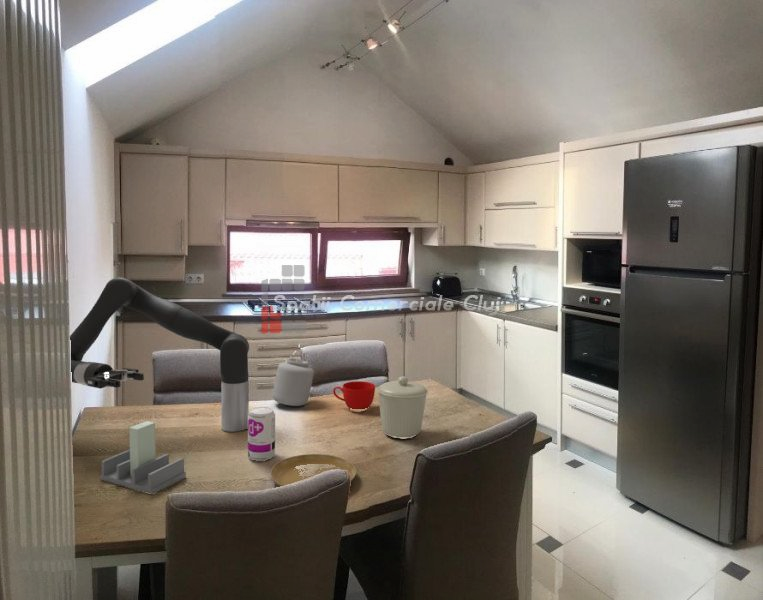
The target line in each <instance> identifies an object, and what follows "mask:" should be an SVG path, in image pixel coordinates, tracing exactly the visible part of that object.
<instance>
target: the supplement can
mask: <svg viewBox="0 0 763 600" xmlns="http://www.w3.org/2000/svg"><path fill="white" fill-rule="evenodd" d="M275 455H276V413H275V412H274V409H273V408H271V407H267V406H260V407H259V406H258V407H253V408H252V409H249V415H248V430H247V457H248V458H249V459H250V460H251V459H252V460H251V461H253V460H256V461H255V462H257V461H263V462H265V461H264V460H268V459H270V460H271V458H272V457H273V458H274V457H275ZM273 458H272V459H273ZM268 461H269V460H268Z"/></svg>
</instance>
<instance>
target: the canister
mask: <svg viewBox="0 0 763 600" xmlns="http://www.w3.org/2000/svg"><path fill="white" fill-rule="evenodd" d="M376 391H377V392H378V400H379V411H380V412H379V413H380V414H379V415H380V423H381V429H382V431H384V432H385V433H386V434H388V435H391V436H396V437H411V436H414V435H417V434H418V433H419V432H421V430H422V424H423V421H424V420H423V419H424V414H425V407H426V402H427V401H426V399H427V395H428V394H429V389H428V387H426V386H424V385H423V384H421V383H418V382H416V381H415V382H414V381H411V380H410V381H409V378H408V377H407V376H403V375H402V376H399V377H398V379H397V380H390V381H387V382H384V383H382V384H380V385H379V386H377V388H376ZM384 432H383V433H384ZM385 433H384V434H385ZM386 434H385V435H386ZM419 434H420V433H419ZM419 434H418V435H419ZM418 435H417V436H418Z"/></svg>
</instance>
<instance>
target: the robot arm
mask: <svg viewBox="0 0 763 600" xmlns="http://www.w3.org/2000/svg"><path fill="white" fill-rule="evenodd" d="M122 306H123V307H126V308H129V309H131V310H133V311H136V312H138V313H140V314H142V315H144V316H146V317H147V318H149V319H151V320H152V321H153V322H155V323H156V324H158V325H159V326H161V327H162V328H164V330H166V331H170V332H171V333H174V334H175V335H178V336H180V337H181V338H185V339H189V340H192V341H196V342H199V343H200V342H201V343H203V344H204V343H205V344H206V345H209V346H211V347H213V348H214V349H216V350H219V362H220V364H219V368H220V372H219V373H220V379H221V380H220V381H221V384H220V385H221V394H220V395H221V423H220V424H221V429H222V430H223V431H224V432H230V433H231V432H232V433H233V432H234V433H235V432H236V433H237V432H241V430H242V431H244V429H248V415H249V413H250V402H249V400H250V399H249V369H248V368H249V363H248V361H249V359H248V355H249V354H248V353H249V351H250V344H249V341H248V339H247V338H246V337H245V336H243V335H241V334H239V333H236V332H233V331H230V330H229V329H226V328H223V327H220V326H219V325H216V324H214V323H212V322H211V321H209V320H208V319H206V318H204V317H202V316H201V315H199V314H197V313H195V312H193V311H191V310H190V309H187V308H185V307H184V306H181V305H179V304H177V303H175V302H172V301H170V300H167V299H165V298H162V297H159V296H156V295H154V294H153V293H150V292H149V291H148V290H145V289H144V288H142V287H140V286H139V285H138V284H136V283H135V282H134V281H132V280H131V279H128V278H125V277H114V278H112V279H110V280H108V282H107V283H106V285H105V286H104V288H103V289H102V292H101V293H100V295H99V296H98V298H97V300H96V302H95V303H94V305H93V307H92V308H91V309H90V311H89V312H88V314H86V316H85V317H84V318H83V319H82V321H81V322H80V323H79V324H78V326H77V327H76V328H75V329H74V331H73V332H72V333H71V334H70V335H69V337H70V340H71V372H72V382H71V383H73V384H79V385H83V386H87V387H91V388H97V389H100V390H101V389H104V388H110V387H111V388H117V389H118V388H121V386H122V385H121V382H127V381H128V380H132V381H133V380H134V381H144V379H145V377H144V373H143V372H139V369H137V368H128V367H123V368H122V369H113V367H112V366H111V365H109V364H107V363H104V362H103V363H102V362H96V361H83V358H84V356H85V354H86V353H87V352H88V351H89V350H90V348H91V347H92V346H93V345H94V343H95V342H96V341H97V339H98V337H99V336H100V334H101V332H102V331H103V329H104V327H105V326H106V325H107V323H108V321H109V320H110V319H111V318H112V316H113V315H114V314H115V313H116V312H117V311H118V310H119V309H120V308H121V307H122ZM123 377H124V378H123Z"/></svg>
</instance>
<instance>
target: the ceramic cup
mask: <svg viewBox="0 0 763 600" xmlns="http://www.w3.org/2000/svg"><path fill="white" fill-rule="evenodd" d="M336 390H340V391H341V392H342V396H343V397H340V396H339V395H337V393H336ZM375 392H376V385H375V384H374V383H372V382H368V381H363V380H362V381H361V380H359V381H358V380H355V381H348V382H345V383H343V384H342V387H341V386H335V387H334V388H333V391H332V393H333V395H334V396H335V398H337V399H338V400H341V401H342V402H345V403H344V404H345V405H346V406H347V408H348V407H349V408H352V409H365V408H368V407H369V408H370V407H371V406H372V404H373V402H374V398H375ZM349 408H348V409H349ZM369 408H368V409H369Z"/></svg>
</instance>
